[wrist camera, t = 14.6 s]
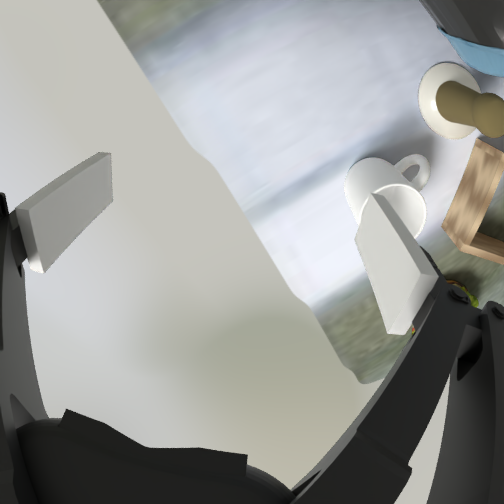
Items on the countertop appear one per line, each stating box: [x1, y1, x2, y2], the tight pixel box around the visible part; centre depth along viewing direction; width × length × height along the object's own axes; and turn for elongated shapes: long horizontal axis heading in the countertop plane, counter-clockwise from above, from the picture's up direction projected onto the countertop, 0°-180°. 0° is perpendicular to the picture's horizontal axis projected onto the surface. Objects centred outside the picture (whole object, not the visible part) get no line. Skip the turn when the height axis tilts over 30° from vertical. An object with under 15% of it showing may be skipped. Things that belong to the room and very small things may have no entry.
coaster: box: [418, 63, 481, 140], centre depth 31 cm, size 11×11×1 cm
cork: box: [435, 81, 504, 138], centre depth 26 cm, size 6×6×11 cm
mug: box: [344, 154, 430, 239], centre depth 34 cm, size 12×8×10 cm
